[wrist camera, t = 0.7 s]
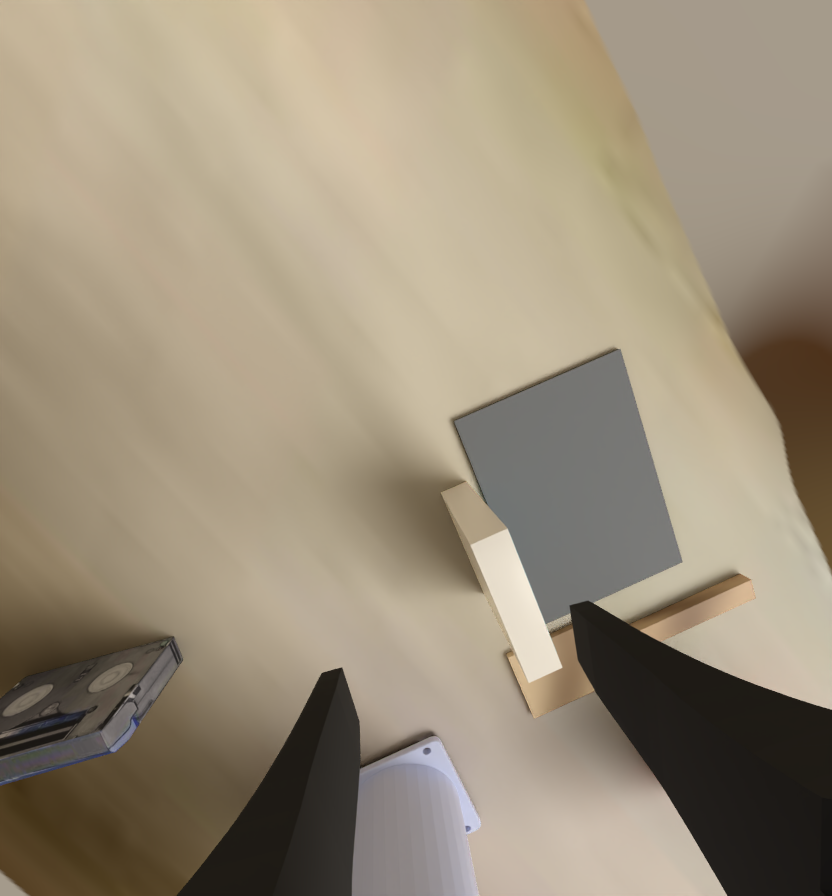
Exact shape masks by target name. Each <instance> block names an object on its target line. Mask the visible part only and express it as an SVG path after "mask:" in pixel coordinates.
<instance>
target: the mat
mask: <svg viewBox="0 0 832 896" xmlns="http://www.w3.org/2000/svg"><path fill="white" fill-rule="evenodd" d="M454 423H455V426H456V428H457V431H458V433H459V436H460V438H461V441H462V443H463V446H464V448H465V451H466V453H467V456H468V458H469V461H470V463H471V466H472V468H473V471H474V473H475V476H476V478H477V481H478V483H479V486H480V488H481V491H482V493H483V495H484V498H485V500H486V503H487V505H488V507H489V508H490V509H491V510H492V511H493V512H494V514H495V515H496V516H497V517H498V518H499V519H500V520H501V522H502V523H503V524H504V525H505V526H506V527H507V528H508V531H509V533H510V535H511V538H512V540H513V543H514V545H515V548H516V550H517V553H518V555H519V558H520V560H521V563H522V566H523V568H524V571H525V573H526V576H527V578H528V581H529V583H530V586H531V588H532V591H533V593H534V596H535V598H536V601H537V604H538V606H539V609H540V611H541V614H542V616H543V619H544V621H545V624H547V623H549V622H551V621H554V620H556V619H558V618H560V617H562V616H565V615H567V614H569V613H570V606H569V605H573V604H577V603H580V602H584V601H590V602H592V603H593V602H595V601H598V600H600V599H602V598H604V597H607V596H609V595H611V594H613V593H615V592H618V591H620V590H622V589H624V588H626V587H629V586H631V585H633V584H635V583H637V582H640V581H642V580H644V579H646V578H648V577H651V576H653V575H655V574H657V573H660V572H662V571H664V570H666V569H668V568H671V567H673V566H675V565H677V564H679V563H682V558H681V555H680V552H679V548H678V545H677V541H676V538H675V534H674V531H673V528H672V524H671V521H670V517H669V514H668V510H667V507H666V504H665V500H664V497H663V493H662V490H661V486H660V483H659V480H658V476H657V473H656V469H655V466H654V463H653V459H652V456H651V452H650V449H649V445H648V442H647V439H646V435H645V432H644V428H643V425H642V421H641V418H640V415H639V411H638V408H637V404H636V401H635V397H634V394H633V391H632V387H631V384H630V380H629V377H628V374H627V370H626V367H625V363H624V360H623V356H622V353H621V350H620V349H617V350H615V351H613V352H611V353H608V354H606V355H604V356H601V357H599V358H597V359H595V360H592V361H590V362H588V363H585V364H583V365H581V366H578V367H576V368H574V369H572V370H569V371H567V372H565V373H562V374H560V375H558V376H556V377H553V378H551V379H549V380H546V381H544V382H542V383H540V384H537V385H535V386H533V387H530V388H528V389H526V390H523V391H521V392H519V393H517V394H514V395H512V396H510V397H507V398H505V399H503V400H501V401H498V402H496V403H494V404H491V405H489V406H487V407H484V408H482V409H480V410H478V411H475V412H473V413H471V414H468V415H466V416H464V417H462V418H459V419H457V420H455V421H454Z"/></svg>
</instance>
